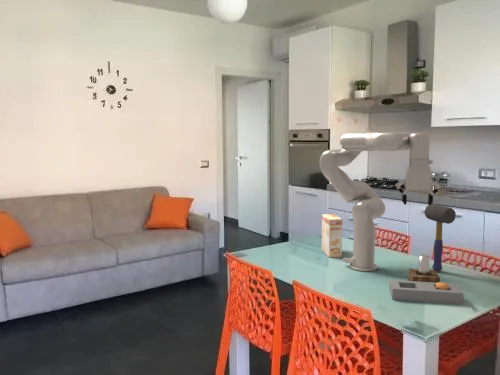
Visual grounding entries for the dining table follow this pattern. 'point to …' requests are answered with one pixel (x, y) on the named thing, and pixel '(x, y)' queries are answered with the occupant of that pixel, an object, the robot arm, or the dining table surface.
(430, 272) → the brown open square box
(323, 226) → the coffeecake box
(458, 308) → the dining table surface
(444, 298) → the socket block
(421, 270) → the silver metal cylinder
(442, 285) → the release button
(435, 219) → the rubber mallet
